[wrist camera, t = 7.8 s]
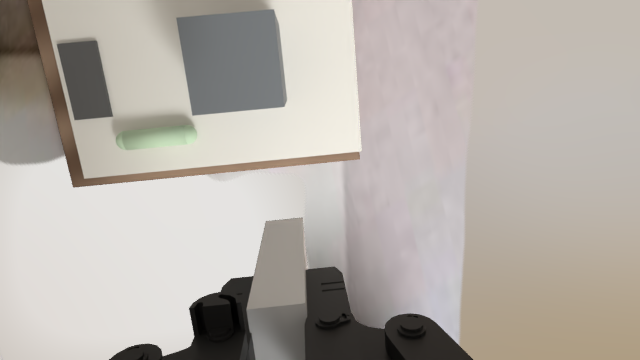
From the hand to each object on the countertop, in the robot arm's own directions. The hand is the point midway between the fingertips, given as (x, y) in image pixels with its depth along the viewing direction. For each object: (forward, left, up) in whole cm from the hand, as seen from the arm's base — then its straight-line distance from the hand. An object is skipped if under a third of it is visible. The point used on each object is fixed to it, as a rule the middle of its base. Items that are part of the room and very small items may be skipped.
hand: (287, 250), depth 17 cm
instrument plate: (+8, +6, -21) cm, 23 cm away
